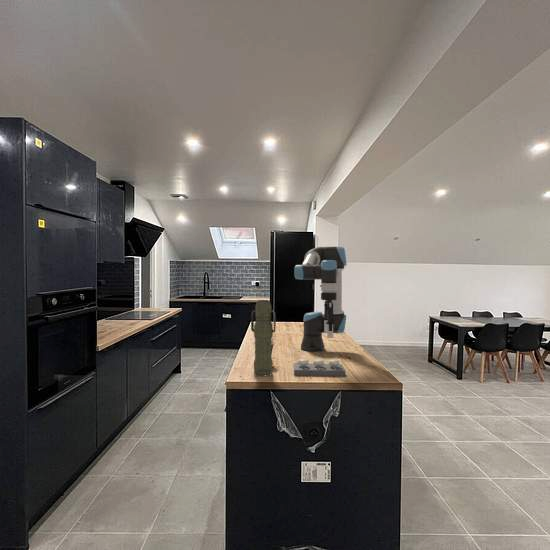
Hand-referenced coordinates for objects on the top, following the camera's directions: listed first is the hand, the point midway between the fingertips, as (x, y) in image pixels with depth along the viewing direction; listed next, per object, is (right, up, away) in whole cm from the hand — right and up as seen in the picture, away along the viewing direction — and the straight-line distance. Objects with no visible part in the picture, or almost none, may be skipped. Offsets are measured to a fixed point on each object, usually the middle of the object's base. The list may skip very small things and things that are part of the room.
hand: (328, 335), depth 175 cm
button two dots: (-12, -16, 0) cm, 20 cm away
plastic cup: (-32, -18, +15) cm, 39 cm away
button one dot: (+3, -16, 0) cm, 16 cm away
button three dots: (-5, -16, 0) cm, 17 cm away
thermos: (-32, -18, -3) cm, 37 cm away
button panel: (-5, -18, 0) cm, 18 cm away
